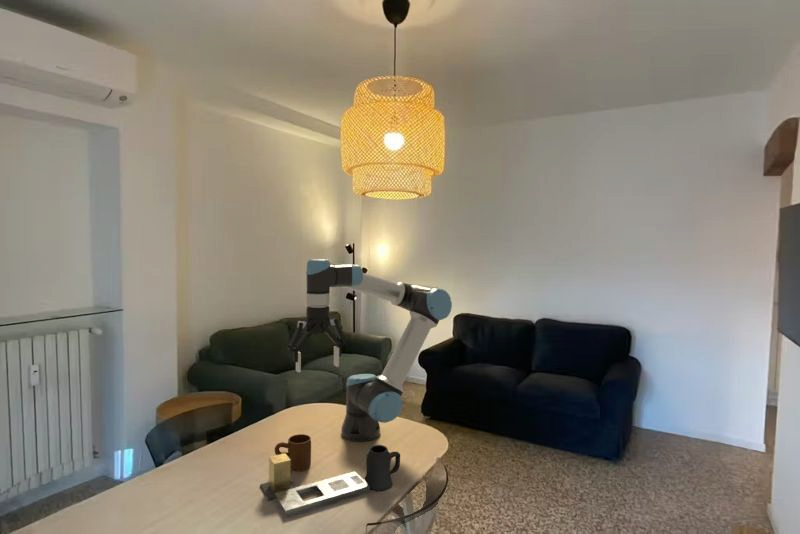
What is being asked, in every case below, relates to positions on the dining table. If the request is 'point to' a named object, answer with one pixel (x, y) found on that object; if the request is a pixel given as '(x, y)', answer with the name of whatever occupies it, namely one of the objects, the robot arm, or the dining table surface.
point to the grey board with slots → (321, 493)
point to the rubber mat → (269, 492)
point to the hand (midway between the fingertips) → (317, 368)
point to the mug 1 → (297, 451)
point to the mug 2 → (380, 468)
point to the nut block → (279, 473)
